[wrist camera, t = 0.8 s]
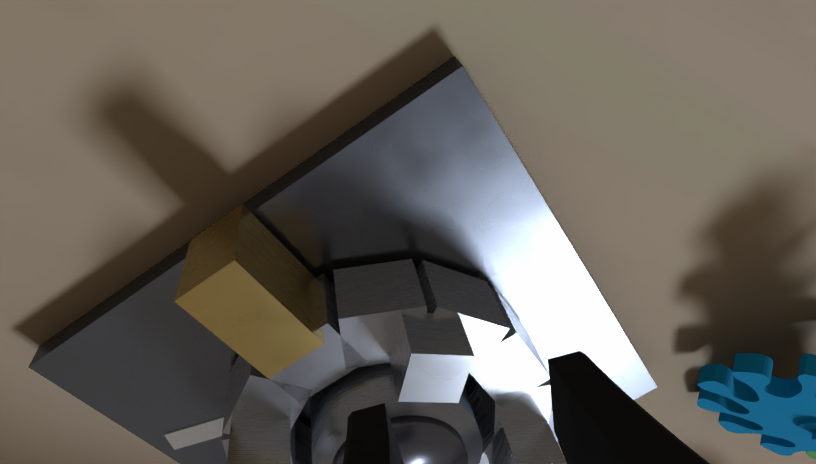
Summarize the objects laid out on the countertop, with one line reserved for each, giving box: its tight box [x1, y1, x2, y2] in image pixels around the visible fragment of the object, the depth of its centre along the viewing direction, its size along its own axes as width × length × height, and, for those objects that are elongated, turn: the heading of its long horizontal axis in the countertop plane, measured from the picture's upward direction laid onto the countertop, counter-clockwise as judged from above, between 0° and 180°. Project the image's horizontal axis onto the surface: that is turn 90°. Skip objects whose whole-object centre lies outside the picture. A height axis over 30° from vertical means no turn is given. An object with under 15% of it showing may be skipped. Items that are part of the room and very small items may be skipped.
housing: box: [310, 362, 483, 464], centre depth 21 cm, size 6×6×5 cm
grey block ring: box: [174, 204, 567, 464], centre depth 20 cm, size 11×14×4 cm
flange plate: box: [29, 56, 657, 464], centre depth 23 cm, size 17×17×1 cm
